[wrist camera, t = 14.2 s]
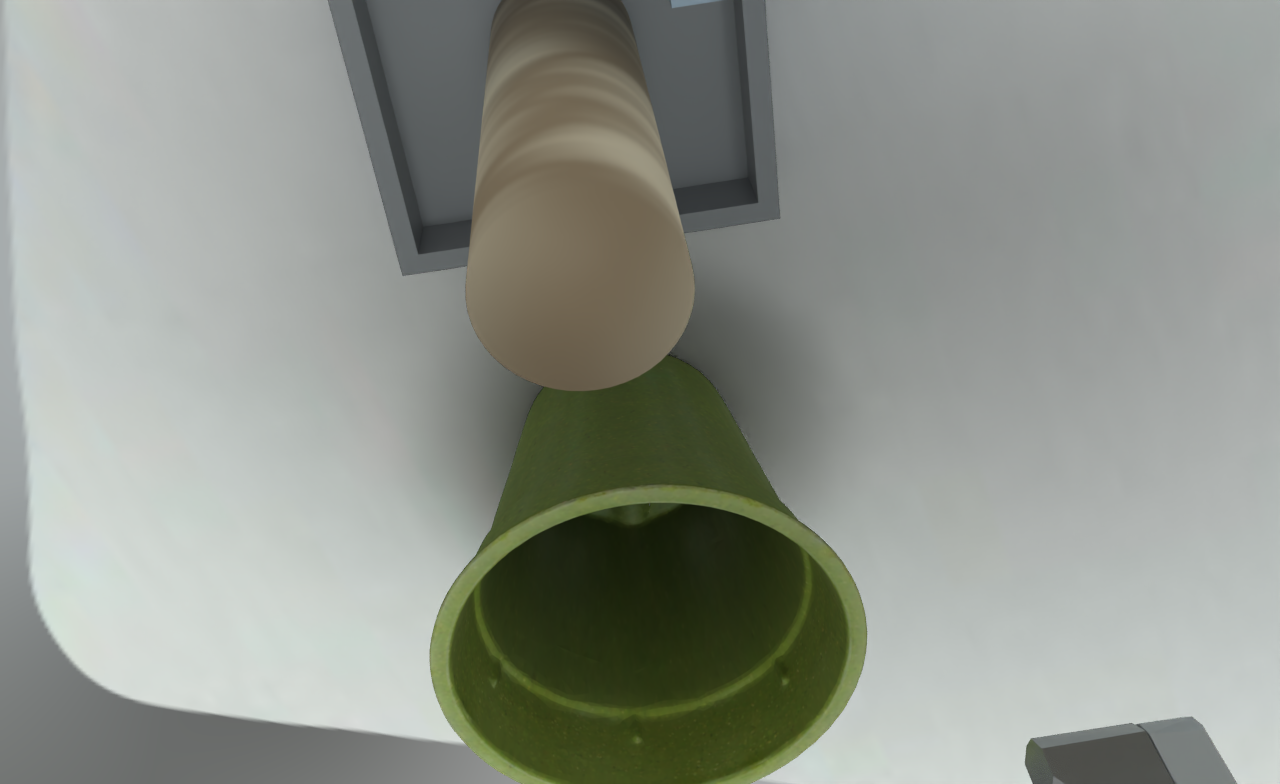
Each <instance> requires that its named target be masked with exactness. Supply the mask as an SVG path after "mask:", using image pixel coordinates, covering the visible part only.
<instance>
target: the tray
mask: <svg viewBox="0 0 1280 784" xmlns="http://www.w3.org/2000/svg"><path fill="white" fill-rule="evenodd" d="M621 1H622V3H623V4H624V6H625V8H626V10H627V12H628V15H629V18H630V21H631V25H632V29H633V33H634V37H635V41H636V45H637V49H638V53H639V57H640V61H641V64H642V68H643V72H644V76H645V80H646V84H647V88H648V92H649V96H650V100H651V104H652V108H653V112H654V116H655V120H656V124H657V128H658V132H659V136H660V140H661V144H662V148H663V152H664V156H665V160H666V164H667V168H668V172H669V176H670V180H671V184H672V188H673V192H674V196H675V200H676V204H677V208H678V212H679V216H680V220H681V224H682V228H683V232H684V233H689V232H695V231H702V230H708V229H715V228H722V227H728V226H735V225H741V224H748V223H754V222H761V221H768V220H774V219H780V209H779V195H778V180H777V166H776V152H775V138H774V123H773V109H772V95H771V81H770V66H769V52H768V38H767V23H766V9H765V0H722V1H715V2H709V3H702V4H696V5H689V6H683V7H676V8H672V7H671V5H670V2H669V0H621ZM500 2H501V0H328V3H329V6H330V10H331V14H332V17H333V21H334V25H335V28H336V32H337V36H338V39H339V43H340V47H341V51H342V54H343V58H344V62H345V65H346V69H347V73H348V76H349V80H350V84H351V87H352V91H353V95H354V98H355V102H356V106H357V109H358V113H359V117H360V121H361V124H362V128H363V132H364V135H365V139H366V143H367V146H368V150H369V154H370V157H371V161H372V165H373V168H374V172H375V176H376V180H377V183H378V187H379V191H380V194H381V198H382V202H383V205H384V209H385V213H386V216H387V220H388V224H389V227H390V231H391V235H392V238H393V242H394V246H395V250H396V253H397V257H398V261H399V264H400V268H401V272H402V275H403V276H406V275H412V274H419V273H425V272H432V271H439V270H445V269H452V268H458V267H465V266H467V265H468V255H469V245H470V235H471V225H472V215H473V205H474V195H475V185H476V175H477V165H478V155H479V145H480V135H481V125H482V115H483V105H484V95H485V85H486V75H487V65H488V55H489V45H490V35H491V27H492V22H493V18H494V15H495V12H496V10H497V8H498V6H499V4H500Z"/></svg>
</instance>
